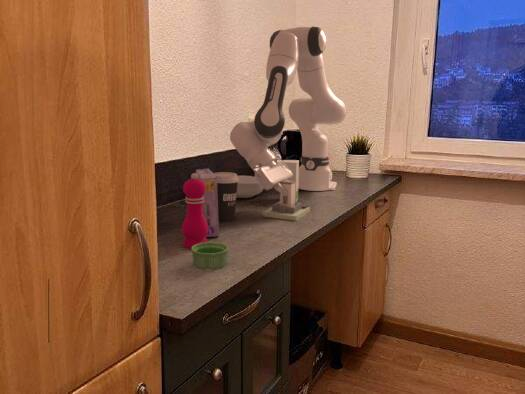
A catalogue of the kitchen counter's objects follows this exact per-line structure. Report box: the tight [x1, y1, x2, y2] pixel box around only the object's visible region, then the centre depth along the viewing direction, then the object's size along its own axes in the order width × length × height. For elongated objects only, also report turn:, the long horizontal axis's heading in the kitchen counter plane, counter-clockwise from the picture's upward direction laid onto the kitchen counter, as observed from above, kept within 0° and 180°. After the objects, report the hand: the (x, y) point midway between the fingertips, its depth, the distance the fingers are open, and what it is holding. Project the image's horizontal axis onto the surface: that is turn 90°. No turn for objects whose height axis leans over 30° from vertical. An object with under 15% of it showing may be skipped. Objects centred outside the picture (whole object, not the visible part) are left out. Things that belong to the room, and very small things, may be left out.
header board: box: [262, 200, 311, 222], centre depth 168 cm, size 14×12×4 cm
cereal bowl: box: [236, 175, 265, 199], centre depth 195 cm, size 17×17×7 cm
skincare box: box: [282, 159, 300, 202], centre depth 188 cm, size 8×7×16 cm
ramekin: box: [190, 241, 230, 270], centre depth 119 cm, size 9×9×4 cm
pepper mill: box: [181, 172, 208, 249], centre depth 131 cm, size 7×7×20 cm
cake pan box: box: [195, 168, 220, 238], centre depth 147 cm, size 19×5×18 cm, turn 13°
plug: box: [279, 180, 295, 207], centre depth 167 cm, size 4×4×9 cm
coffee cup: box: [213, 171, 239, 222], centre depth 159 cm, size 10×10×15 cm
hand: (289, 193), depth 167 cm, fingers closed on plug, 4 cm apart
